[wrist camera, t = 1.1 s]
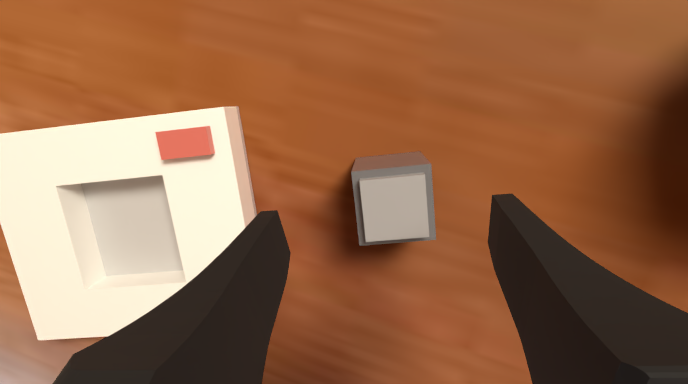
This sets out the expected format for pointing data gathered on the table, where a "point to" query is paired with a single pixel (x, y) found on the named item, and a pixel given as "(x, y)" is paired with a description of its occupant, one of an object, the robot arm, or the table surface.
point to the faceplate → (120, 213)
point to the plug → (393, 198)
